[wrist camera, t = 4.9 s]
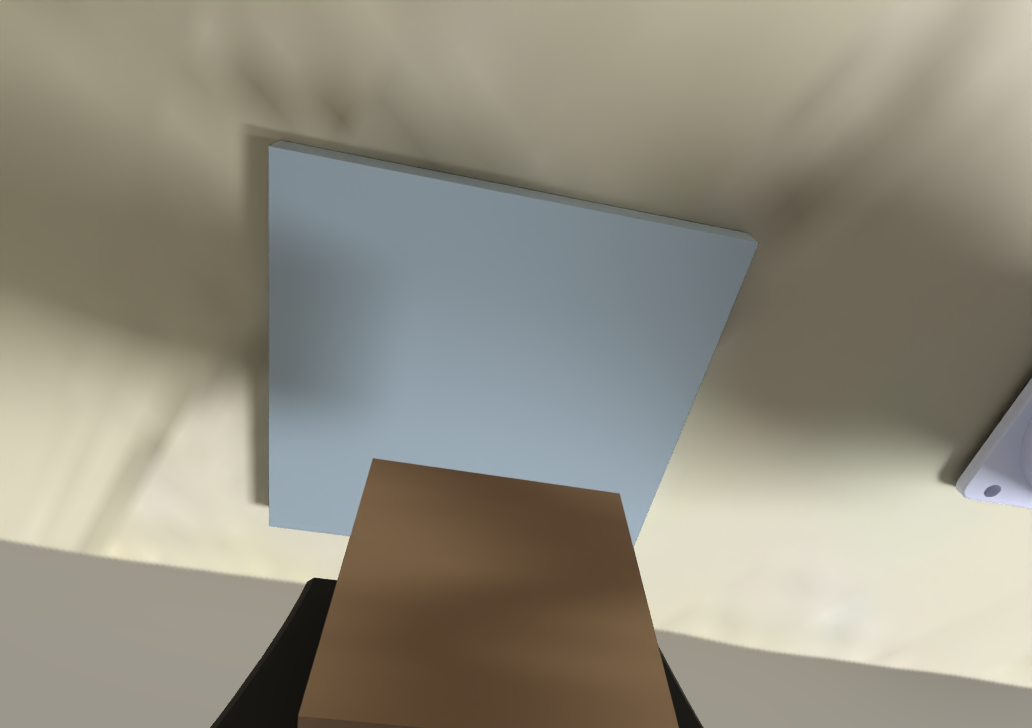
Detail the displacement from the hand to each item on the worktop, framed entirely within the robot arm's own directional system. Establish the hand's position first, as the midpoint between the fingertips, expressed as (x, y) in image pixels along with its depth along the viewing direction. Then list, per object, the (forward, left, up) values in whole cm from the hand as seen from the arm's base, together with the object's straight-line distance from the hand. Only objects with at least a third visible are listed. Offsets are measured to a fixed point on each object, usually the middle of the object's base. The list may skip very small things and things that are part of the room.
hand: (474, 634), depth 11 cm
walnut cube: (0, 0, -2) cm, 2 cm away
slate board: (0, 0, -8) cm, 8 cm away
